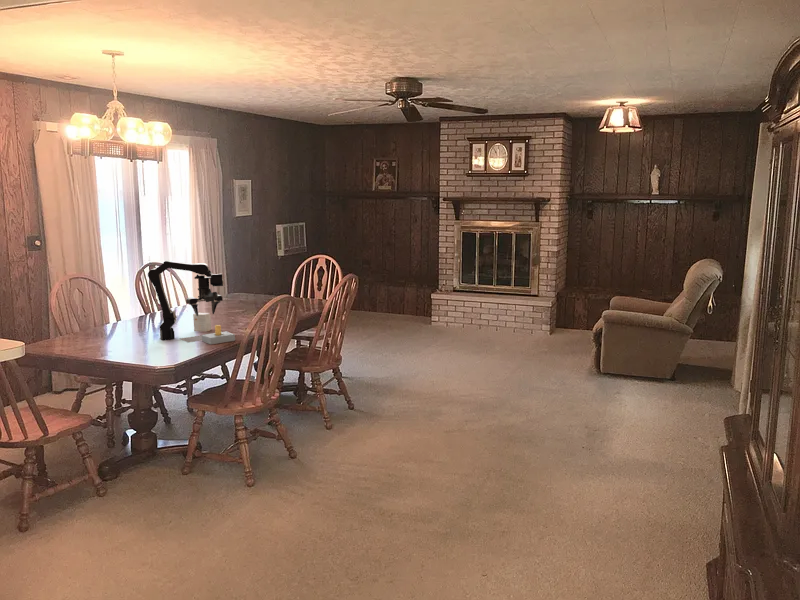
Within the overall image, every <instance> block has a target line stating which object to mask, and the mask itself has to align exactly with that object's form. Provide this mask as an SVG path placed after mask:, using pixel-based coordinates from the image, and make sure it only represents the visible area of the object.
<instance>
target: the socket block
mask: <svg viewBox="0 0 800 600" xmlns="http://www.w3.org/2000/svg"><path fill="white" fill-rule="evenodd" d="M201 341H202V342H204V343H206V344H209V345H216V344H217V345H218V344H222V343H223V344H224V343H229V342H235V341H236V335H235V333H232V332H229V331H227V330H225V331H221V335H219V336H215V332H212V333H206V334H202V340H201Z"/></svg>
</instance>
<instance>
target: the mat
mask: <svg viewBox="0 0 800 600" xmlns="http://www.w3.org/2000/svg"><path fill="white" fill-rule="evenodd" d="M202 335H203V334H202ZM202 335H201V334H199V335H194V336H188V337H187V336H186V337H182V338H181V337H180V338H179V340H180V341H181V340H182V341H184V342H186V343H193V342H200V341H202Z"/></svg>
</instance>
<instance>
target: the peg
mask: <svg viewBox="0 0 800 600" xmlns="http://www.w3.org/2000/svg"><path fill="white" fill-rule="evenodd" d="M214 329H215V331H214V333H215V336H219V335H221V332H222V326H221V324H215V325H214Z"/></svg>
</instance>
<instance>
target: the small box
mask: <svg viewBox="0 0 800 600" xmlns="http://www.w3.org/2000/svg"><path fill="white" fill-rule="evenodd" d="M192 316H193V317H192V318H193V331H194V332H202V333H203V332H206V333H207V332H210V331H212V321H211V320H212V319H211V318H212V317H211V313H210V312H198V316H196V314H195V313H193V315H192Z"/></svg>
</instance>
